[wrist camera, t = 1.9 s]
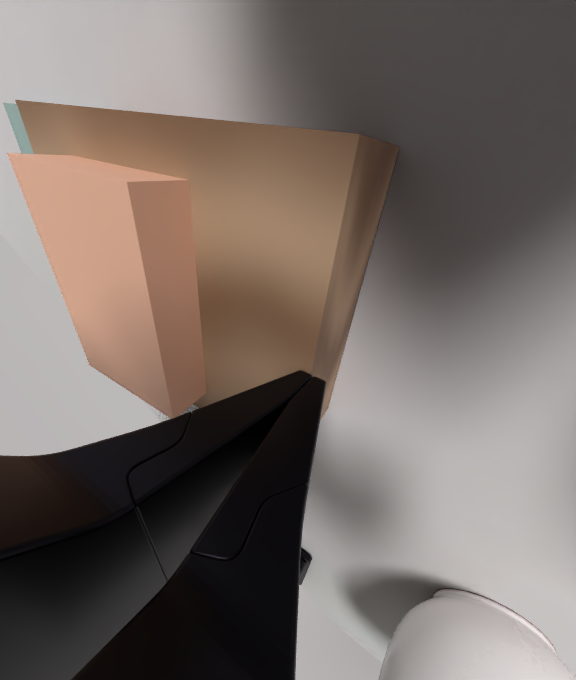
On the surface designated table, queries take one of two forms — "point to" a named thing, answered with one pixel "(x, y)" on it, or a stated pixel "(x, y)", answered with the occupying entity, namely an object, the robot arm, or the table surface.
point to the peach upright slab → (123, 270)
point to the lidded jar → (469, 643)
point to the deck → (251, 228)
